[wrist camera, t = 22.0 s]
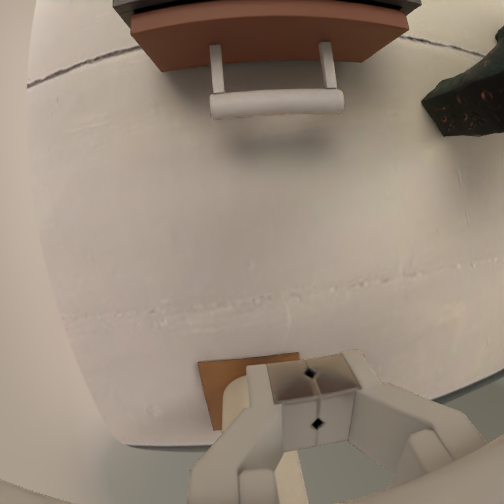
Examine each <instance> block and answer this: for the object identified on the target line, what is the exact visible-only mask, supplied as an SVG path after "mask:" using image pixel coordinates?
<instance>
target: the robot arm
mask: <svg viewBox="0 0 504 504" xmlns="http://www.w3.org/2000/svg"><path fill="white" fill-rule="evenodd" d="M246 373H247V384H248V394H249V404H250V407H249V408H244V409H243V410H242V411H241V412H240V413H239V415H238V416H237V417H236V418H235V419H234V421H233V422H232V423H231V424H230V425H229V426H228V428H227V429H226V430H225V431H224V432H223V433H222V435H221V436H220V437H219V438H218V439H217V440H216V442H215V443H214V444H213V445H212V446H211V447H210V448H209V449H208V451H207V452H206V453H205V454H204V455H203V456H202V457H201V458H200V459H199V461H198V462H197V463H196V464H195V465H194V466H193V467H192V468H191V469H190V473H189V485H188V497H187V504H280V501H279V495H278V489H277V484H276V478H275V472H274V471H275V469H276V467H277V466H278V464H279V462H280V460H281V458H282V456H283V452H289V451H295V450H300V449H305V448H310V447H315V446H321V445H326V444H332V443H337V442H342V441H347V440H348V442H349V443H350V444H352V445H353V446H354V447H356V448H357V449H359V450H360V451H361V452H363V453H364V454H365V455H367V456H368V457H370V458H371V459H373V460H374V461H375V462H377V463H378V464H380V465H381V466H383V467H384V468H386V469H387V470H389V471H390V472H391V473H393V476H392V478H391V481H390V483H389V485H388V487H387V489H385V490H382V491H379V492H376V493H372V494H369V495H366V496H362V497H358V498H355V499H351V500H347V501H343V502H339V503H335V504H504V435H502V436H500V437H499V438H497V439H495V440H494V441H492V442H491V443H487V442H486V441H485V440H484V438H483V437H482V436H481V435H480V433H479V432H478V431H477V430H476V428H475V427H474V426H473V425H472V423H471V422H470V421H469V419H468V418H467V417H466V416H465V414H464V413H463V412H460V411H457V410H455V409H452V408H449V407H447V406H444V405H441V404H439V403H436V402H434V401H431V400H429V399H426V398H423V397H421V396H418V395H416V394H413V393H411V392H409V391H406V390H404V389H401V388H399V387H396V386H394V385H392V384H389V383H385V384H382V383H381V381H380V380H379V378H378V377H377V375H376V374H375V372H374V371H373V369H372V368H371V366H370V365H369V363H368V362H367V360H366V359H365V357H364V356H363V354H362V353H361V351H360V350H358V349H356V350H351V351H347V352H342V353H340V354H335V355H330V356H324V357H318V358H312V359H306V360H296V361H287V362H278V363H269V364H260V365H250V366H247V367H246ZM0 504H76V503H71V502H68V501H64V500H60V499H57V498H53V497H50V496H47V495H43V494H40V493H37V492H34V491H31V490H28V489H25V488H22V487H20V486H17V485H14V484H12V483H9V482H6V481H4V480H2V479H0Z"/></svg>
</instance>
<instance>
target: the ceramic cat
mask: <svg viewBox="0 0 504 504" xmlns="http://www.w3.org/2000/svg"><path fill="white" fill-rule="evenodd" d="M496 39H497V41H498V44H497V45H496V46H495V47H494V48H493V49H492V50H491V51H490V52H489V53H488V54H487V55H486V56H485V57H484V58H483V59H482V60H481V61H480V62H478V63H477V64H475V65H474V66H473V67H471V68H470V69H469V70H467V71H466V72H464V73H462V74H459V75H457V76H455V77H452V78H449V79H445V80H442V81H441V82H440V83H439V84H438V85H437V86H436V88H435V89H434V90H433V91H431V92H430V93H429V94H428V95H427V96H426V97H425V98H424V99H423V100H422V103H423V105H424V106H425V108H426V109H427V111H428V113H429V114H430V115H431V117H432V118H433V120H434V121H435V123H436V124H437V126H438V127H439V129H440V131H441V132H442V134H443V136H444V137H445V136H460V135H465V136H476V137H480V136H484V135H489V134H493V133H504V26H503V27H502V28H501V29H500V30H499V31H498V32H497V34H496Z"/></svg>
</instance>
